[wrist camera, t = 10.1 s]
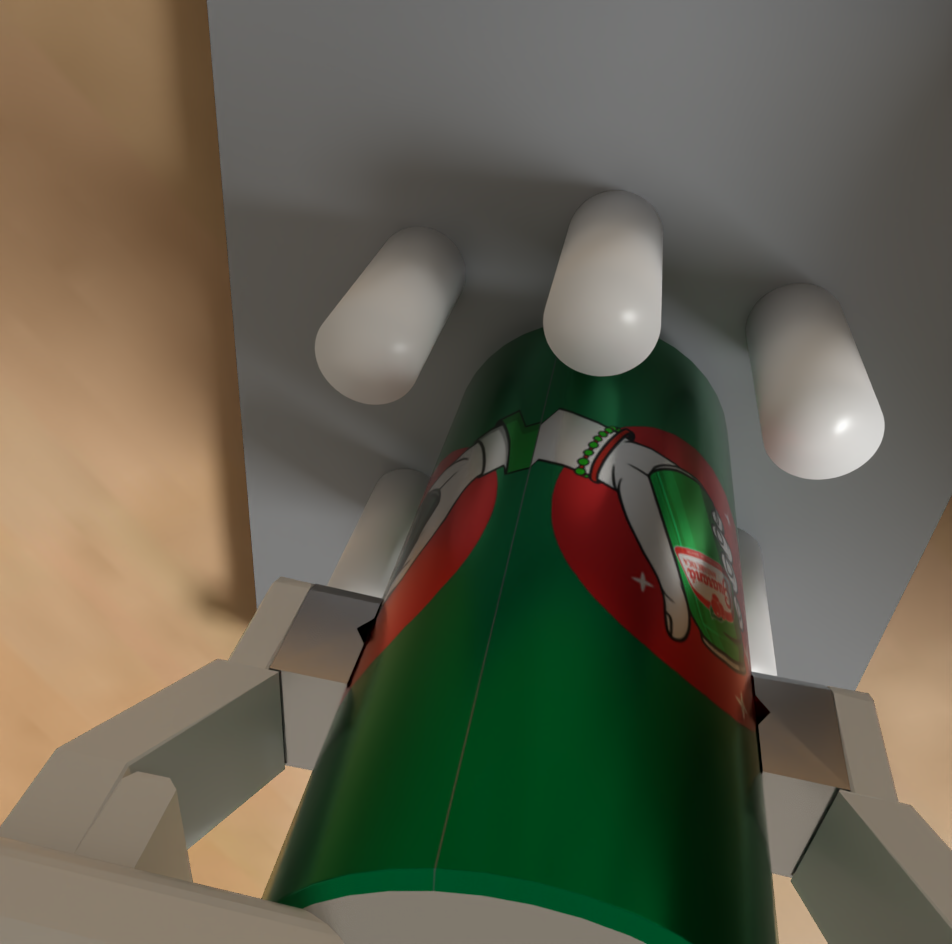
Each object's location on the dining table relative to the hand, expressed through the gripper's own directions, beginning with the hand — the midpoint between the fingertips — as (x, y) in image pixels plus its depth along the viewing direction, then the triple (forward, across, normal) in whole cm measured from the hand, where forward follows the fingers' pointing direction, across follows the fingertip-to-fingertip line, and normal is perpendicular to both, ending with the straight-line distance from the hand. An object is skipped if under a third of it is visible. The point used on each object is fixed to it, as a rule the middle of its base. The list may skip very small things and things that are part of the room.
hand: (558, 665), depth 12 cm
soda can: (+6, 0, 0) cm, 7 cm away
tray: (+8, 0, 0) cm, 8 cm away
